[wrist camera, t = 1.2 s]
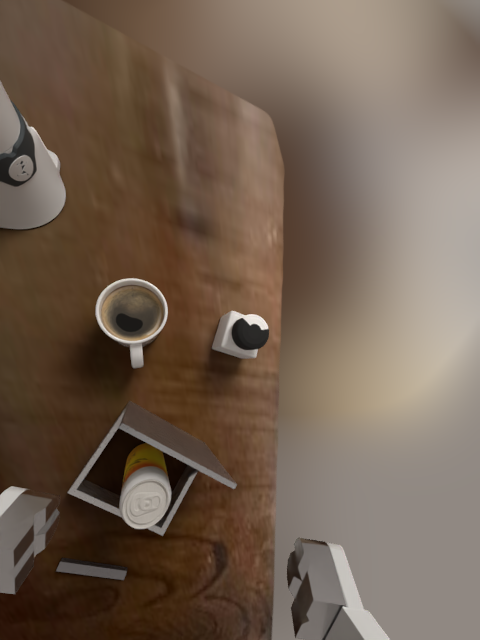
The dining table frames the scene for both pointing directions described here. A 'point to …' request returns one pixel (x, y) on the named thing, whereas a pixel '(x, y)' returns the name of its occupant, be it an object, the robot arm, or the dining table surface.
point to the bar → (92, 569)
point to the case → (163, 439)
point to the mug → (132, 315)
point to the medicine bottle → (240, 335)
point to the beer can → (144, 487)
